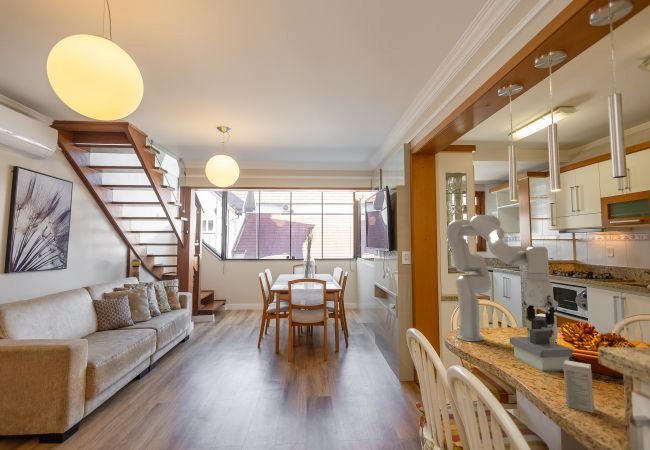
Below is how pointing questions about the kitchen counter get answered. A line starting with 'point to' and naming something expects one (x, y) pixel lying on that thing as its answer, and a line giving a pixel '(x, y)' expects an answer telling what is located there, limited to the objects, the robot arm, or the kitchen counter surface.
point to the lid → (541, 344)
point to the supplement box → (553, 326)
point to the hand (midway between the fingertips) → (540, 321)
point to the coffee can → (540, 326)
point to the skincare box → (578, 386)
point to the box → (540, 360)
